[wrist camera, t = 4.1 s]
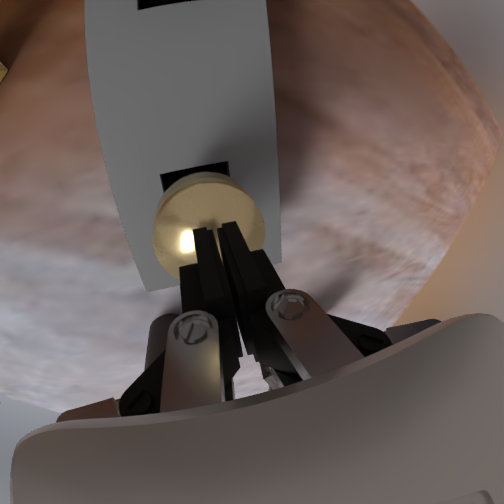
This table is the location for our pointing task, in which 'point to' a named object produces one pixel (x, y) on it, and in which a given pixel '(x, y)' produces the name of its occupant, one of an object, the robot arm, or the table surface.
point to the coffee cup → (158, 337)
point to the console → (182, 107)
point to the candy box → (2, 71)
